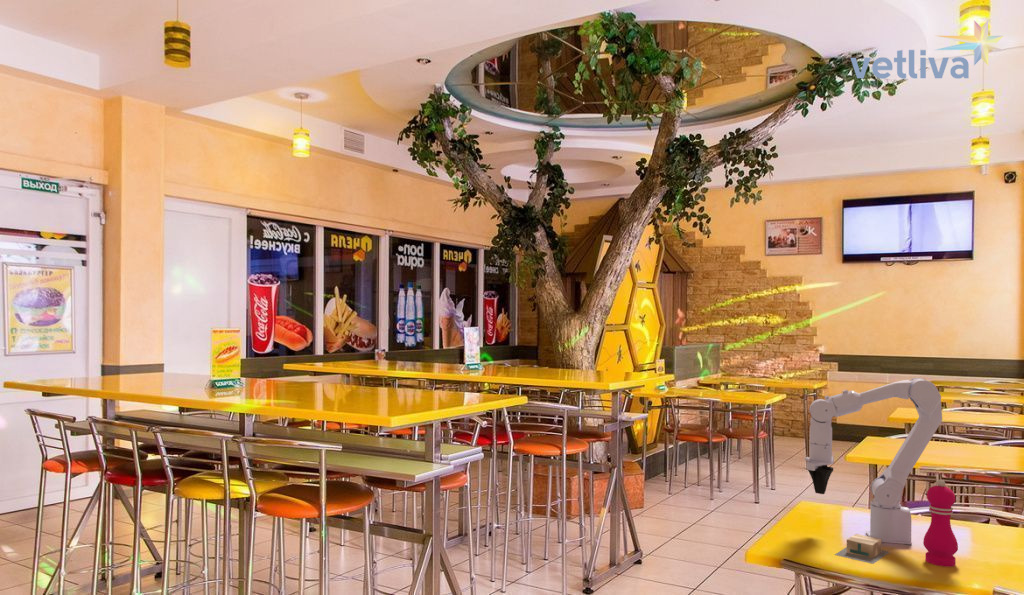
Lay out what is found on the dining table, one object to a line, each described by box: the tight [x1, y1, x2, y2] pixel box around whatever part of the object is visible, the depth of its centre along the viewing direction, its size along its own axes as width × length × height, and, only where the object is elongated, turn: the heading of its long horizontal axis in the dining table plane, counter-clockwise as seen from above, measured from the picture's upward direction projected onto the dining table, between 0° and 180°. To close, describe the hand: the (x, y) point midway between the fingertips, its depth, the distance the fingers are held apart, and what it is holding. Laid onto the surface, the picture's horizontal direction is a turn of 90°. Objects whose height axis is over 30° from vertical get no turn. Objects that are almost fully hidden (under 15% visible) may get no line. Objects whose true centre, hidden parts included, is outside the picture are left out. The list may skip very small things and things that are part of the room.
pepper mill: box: [922, 479, 959, 568], centre depth 176 cm, size 7×7×20 cm
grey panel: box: [834, 546, 890, 565], centre depth 181 cm, size 13×9×1 cm
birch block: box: [846, 533, 882, 558], centre depth 182 cm, size 3×6×7 cm
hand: (820, 493), depth 200 cm, fingers closed
